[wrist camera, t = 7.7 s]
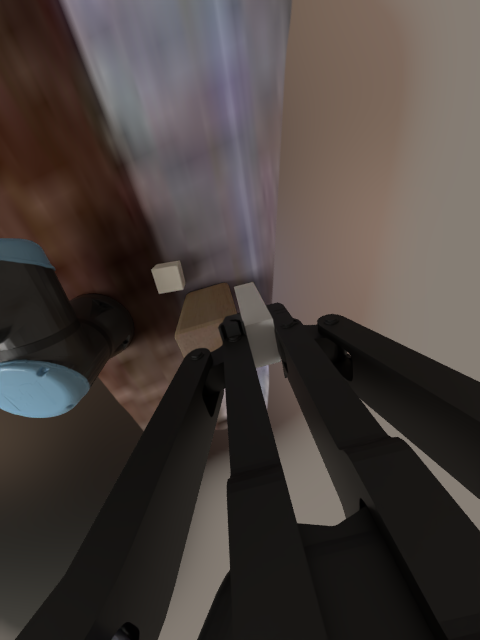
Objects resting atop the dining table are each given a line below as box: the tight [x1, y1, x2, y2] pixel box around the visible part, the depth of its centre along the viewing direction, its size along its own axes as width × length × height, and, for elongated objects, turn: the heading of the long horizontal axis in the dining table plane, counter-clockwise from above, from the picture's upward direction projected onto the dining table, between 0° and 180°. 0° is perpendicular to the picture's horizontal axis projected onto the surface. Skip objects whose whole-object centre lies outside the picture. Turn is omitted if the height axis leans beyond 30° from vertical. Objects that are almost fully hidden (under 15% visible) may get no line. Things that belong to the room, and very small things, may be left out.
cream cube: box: [151, 260, 186, 294], centre depth 48 cm, size 5×5×5 cm
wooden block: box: [175, 283, 237, 358], centre depth 45 cm, size 10×10×20 cm
